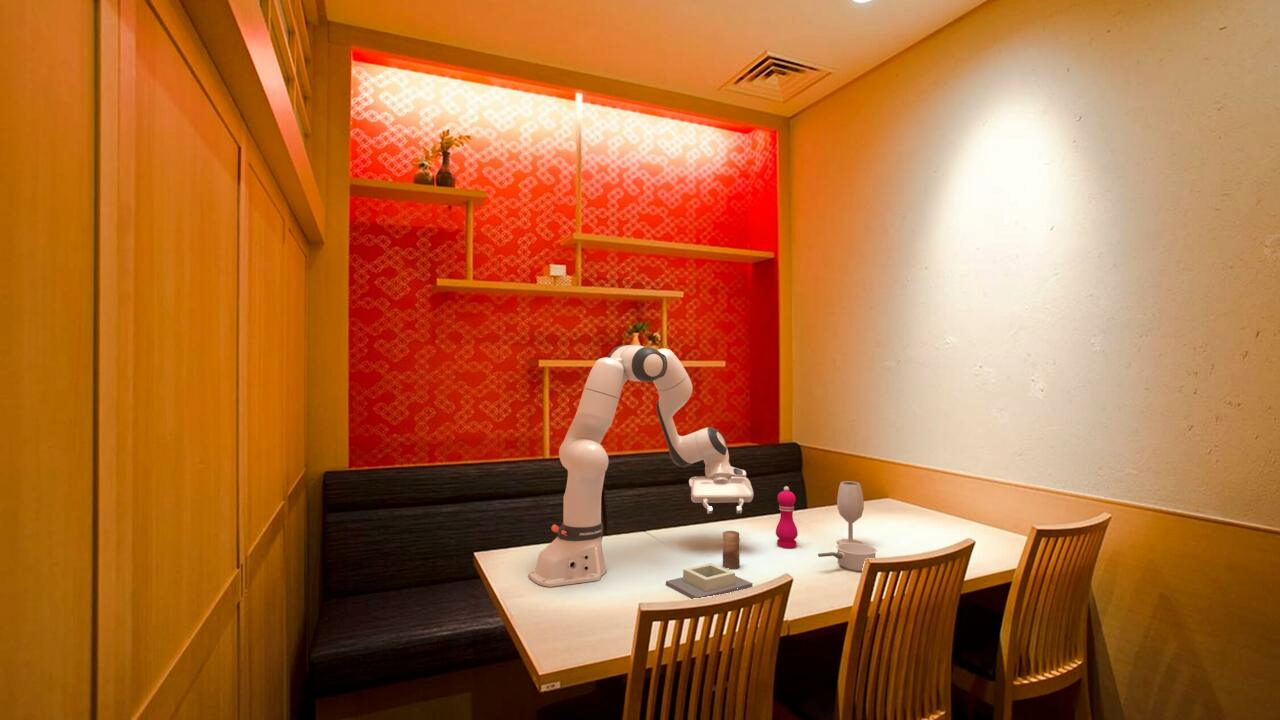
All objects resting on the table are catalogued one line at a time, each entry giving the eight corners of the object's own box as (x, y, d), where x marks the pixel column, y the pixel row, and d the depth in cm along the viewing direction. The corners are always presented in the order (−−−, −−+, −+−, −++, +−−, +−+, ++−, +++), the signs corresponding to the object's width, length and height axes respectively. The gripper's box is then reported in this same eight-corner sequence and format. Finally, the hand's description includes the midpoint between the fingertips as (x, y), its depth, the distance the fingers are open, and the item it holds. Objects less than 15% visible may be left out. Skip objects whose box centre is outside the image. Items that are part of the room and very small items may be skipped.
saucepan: (806, 567, 178) (806, 548, 178) (856, 559, 186) (856, 541, 186) (833, 579, 167) (833, 559, 168) (885, 570, 176) (885, 551, 176)
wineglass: (831, 542, 203) (831, 481, 204) (853, 540, 206) (852, 480, 206) (847, 550, 195) (847, 486, 195) (870, 547, 198) (869, 484, 198)
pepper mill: (798, 549, 195) (798, 488, 196) (775, 548, 197) (775, 488, 197) (797, 543, 202) (796, 484, 203) (775, 542, 204) (775, 484, 204)
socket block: (697, 601, 151) (697, 585, 151) (665, 584, 163) (665, 570, 163) (752, 586, 161) (752, 572, 161) (718, 572, 173) (718, 558, 173)
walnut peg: (730, 570, 175) (730, 536, 175) (719, 565, 179) (719, 532, 179) (743, 567, 178) (742, 533, 178) (731, 562, 182) (731, 530, 182)
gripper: (689, 471, 196) (693, 507, 186) (750, 470, 197) (757, 506, 187) (687, 482, 200) (691, 518, 190) (747, 481, 201) (754, 517, 191)
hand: (724, 512), depth 188 cm, fingers open, 8 cm apart
